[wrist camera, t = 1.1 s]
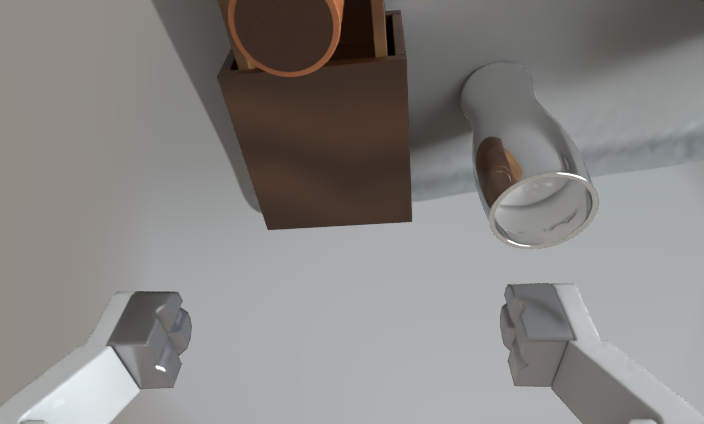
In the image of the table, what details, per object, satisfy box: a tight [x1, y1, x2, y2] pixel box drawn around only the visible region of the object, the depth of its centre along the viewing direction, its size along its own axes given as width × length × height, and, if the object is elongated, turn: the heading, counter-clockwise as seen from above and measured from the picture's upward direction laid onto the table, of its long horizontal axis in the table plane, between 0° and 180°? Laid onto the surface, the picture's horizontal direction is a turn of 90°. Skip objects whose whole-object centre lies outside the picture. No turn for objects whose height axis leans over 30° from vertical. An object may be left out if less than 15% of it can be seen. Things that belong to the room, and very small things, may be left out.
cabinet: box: [217, 10, 412, 230], centre depth 38 cm, size 14×12×8 cm
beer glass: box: [460, 61, 599, 249], centre depth 35 cm, size 7×7×15 cm
